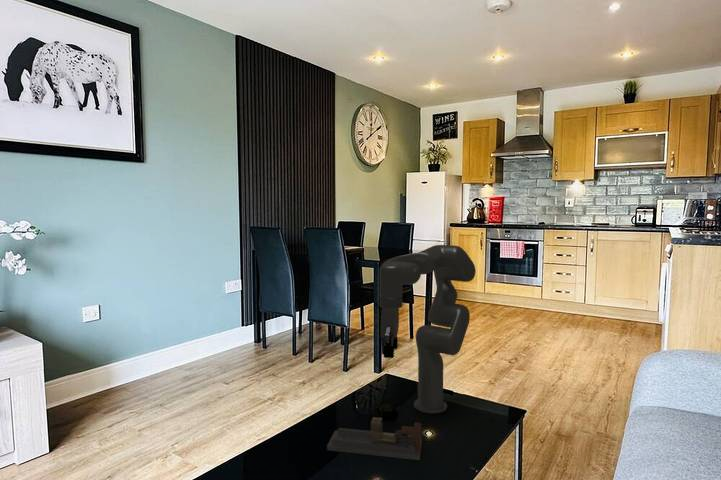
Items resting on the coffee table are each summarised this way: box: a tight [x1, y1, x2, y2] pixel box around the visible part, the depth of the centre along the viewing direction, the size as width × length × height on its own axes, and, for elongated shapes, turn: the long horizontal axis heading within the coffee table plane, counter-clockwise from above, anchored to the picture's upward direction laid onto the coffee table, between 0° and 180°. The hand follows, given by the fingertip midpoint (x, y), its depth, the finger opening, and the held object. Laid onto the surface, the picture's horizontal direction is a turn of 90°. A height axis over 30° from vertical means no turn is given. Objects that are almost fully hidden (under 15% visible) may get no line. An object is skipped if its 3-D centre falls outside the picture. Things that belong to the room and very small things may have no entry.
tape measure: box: [377, 403, 400, 421], centre depth 161 cm, size 7×7×4 cm
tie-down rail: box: [326, 422, 423, 461], centre depth 140 cm, size 10×29×8 cm, turn 78°
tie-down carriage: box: [370, 416, 409, 445], centre depth 139 cm, size 5×12×7 cm, turn 78°
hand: (390, 352), depth 146 cm, fingers open, 9 cm apart
